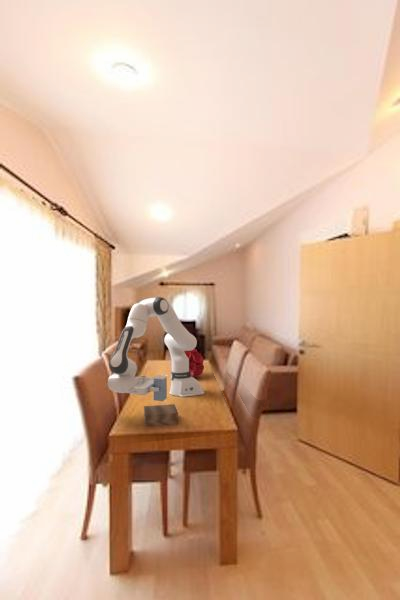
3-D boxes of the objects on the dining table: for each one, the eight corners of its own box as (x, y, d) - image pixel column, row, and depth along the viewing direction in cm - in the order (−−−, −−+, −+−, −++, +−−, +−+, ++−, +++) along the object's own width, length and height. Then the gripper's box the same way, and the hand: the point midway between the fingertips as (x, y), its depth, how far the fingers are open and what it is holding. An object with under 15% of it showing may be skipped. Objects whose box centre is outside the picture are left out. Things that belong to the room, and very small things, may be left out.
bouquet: (171, 383, 281) (177, 372, 255) (171, 354, 292) (176, 341, 266) (198, 384, 285) (206, 372, 259) (197, 355, 296) (205, 342, 270)
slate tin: (157, 397, 185) (157, 374, 185) (166, 398, 184) (166, 375, 184) (153, 400, 180) (153, 376, 180) (162, 401, 179) (162, 377, 179)
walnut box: (174, 415, 191) (174, 404, 191) (178, 425, 177) (178, 413, 177) (144, 417, 188) (144, 406, 188) (145, 427, 174) (145, 415, 174)
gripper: (127, 384, 176) (153, 386, 172) (145, 375, 195) (169, 376, 191) (127, 397, 176) (153, 399, 172) (145, 386, 195) (169, 388, 191)
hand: (161, 387), depth 182 cm, fingers closed on slate tin, 5 cm apart
